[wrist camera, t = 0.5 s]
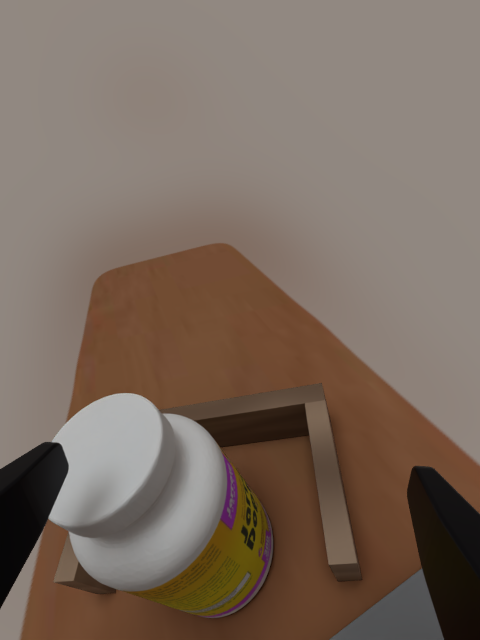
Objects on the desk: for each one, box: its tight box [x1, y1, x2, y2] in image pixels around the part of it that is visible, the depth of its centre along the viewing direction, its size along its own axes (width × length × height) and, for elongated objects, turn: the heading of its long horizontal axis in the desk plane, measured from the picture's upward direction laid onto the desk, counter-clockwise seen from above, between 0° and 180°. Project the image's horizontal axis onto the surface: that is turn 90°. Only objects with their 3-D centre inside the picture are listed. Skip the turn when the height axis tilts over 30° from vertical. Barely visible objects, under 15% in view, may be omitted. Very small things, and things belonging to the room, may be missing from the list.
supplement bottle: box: [48, 393, 273, 618], centre depth 16 cm, size 7×7×13 cm
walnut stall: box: [53, 383, 362, 594], centre depth 21 cm, size 9×15×4 cm, turn 90°
